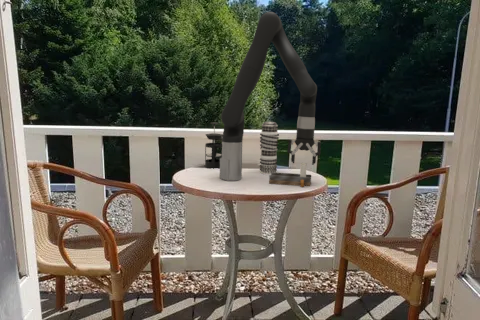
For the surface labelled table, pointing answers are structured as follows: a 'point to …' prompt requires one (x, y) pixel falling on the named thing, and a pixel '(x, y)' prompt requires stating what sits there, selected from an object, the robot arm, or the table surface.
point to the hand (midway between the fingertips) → (303, 163)
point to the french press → (213, 150)
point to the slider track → (289, 179)
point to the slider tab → (303, 170)
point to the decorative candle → (268, 148)
